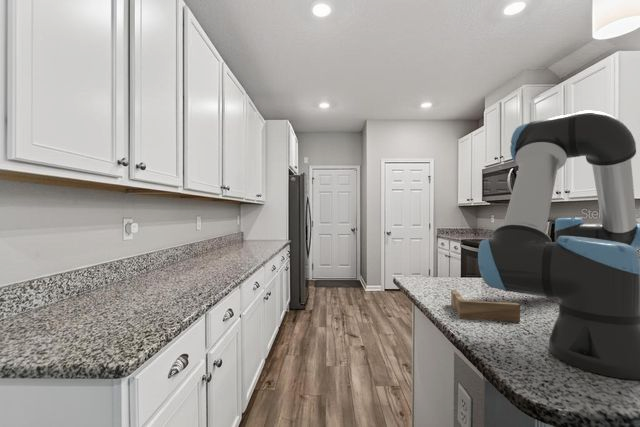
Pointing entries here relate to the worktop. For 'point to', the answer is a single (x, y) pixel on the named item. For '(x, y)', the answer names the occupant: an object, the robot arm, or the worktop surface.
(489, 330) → the worktop surface
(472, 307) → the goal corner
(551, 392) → the worktop surface
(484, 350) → the worktop surface
